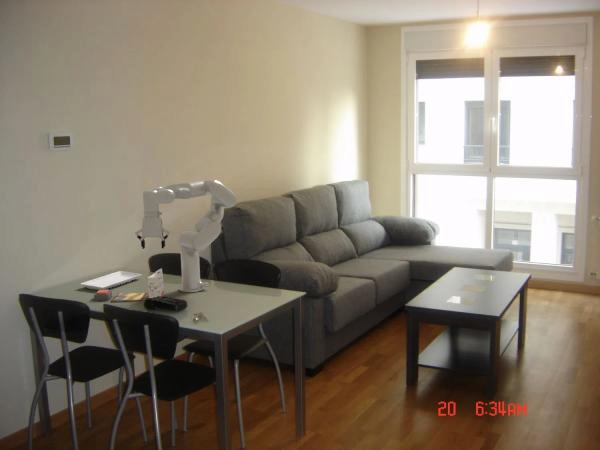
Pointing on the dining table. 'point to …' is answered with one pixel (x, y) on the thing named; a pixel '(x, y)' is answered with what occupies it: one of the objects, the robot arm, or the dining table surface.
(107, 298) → the button base
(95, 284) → the tray
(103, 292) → the button
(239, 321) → the dining table surface
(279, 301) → the dining table surface
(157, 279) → the ink cartridge box
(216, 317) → the dining table surface
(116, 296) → the picture board
